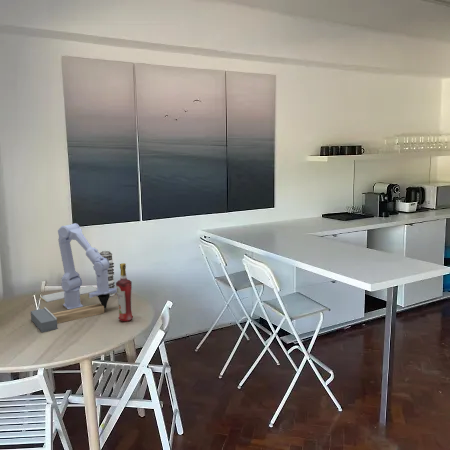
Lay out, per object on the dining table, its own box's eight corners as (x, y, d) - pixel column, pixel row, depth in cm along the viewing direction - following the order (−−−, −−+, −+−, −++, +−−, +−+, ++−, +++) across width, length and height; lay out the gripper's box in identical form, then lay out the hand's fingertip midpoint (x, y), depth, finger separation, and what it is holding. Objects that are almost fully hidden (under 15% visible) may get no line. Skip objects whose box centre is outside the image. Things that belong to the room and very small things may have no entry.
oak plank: (44, 322, 228) (43, 315, 228) (100, 309, 244) (99, 303, 243) (47, 325, 223) (47, 318, 223) (104, 313, 239) (104, 306, 239)
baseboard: (100, 292, 276) (91, 287, 285) (99, 287, 276) (91, 283, 285) (46, 303, 257) (39, 298, 266) (46, 298, 256) (39, 293, 265)
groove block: (31, 319, 231) (30, 309, 230) (45, 316, 235) (45, 307, 234) (42, 332, 215) (41, 321, 214) (57, 328, 219) (56, 318, 218)
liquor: (115, 320, 229) (111, 264, 224) (127, 316, 234) (124, 261, 229) (123, 323, 224) (120, 266, 219) (136, 319, 229) (133, 263, 224)
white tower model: (96, 297, 265) (93, 253, 261) (102, 292, 274) (100, 250, 270) (112, 297, 264) (109, 253, 260) (118, 292, 273) (115, 250, 269)
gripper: (91, 287, 232) (93, 313, 235) (119, 281, 241) (120, 307, 243) (86, 283, 238) (88, 309, 240) (113, 278, 246) (115, 303, 249)
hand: (104, 308), depth 242 cm, fingers closed
